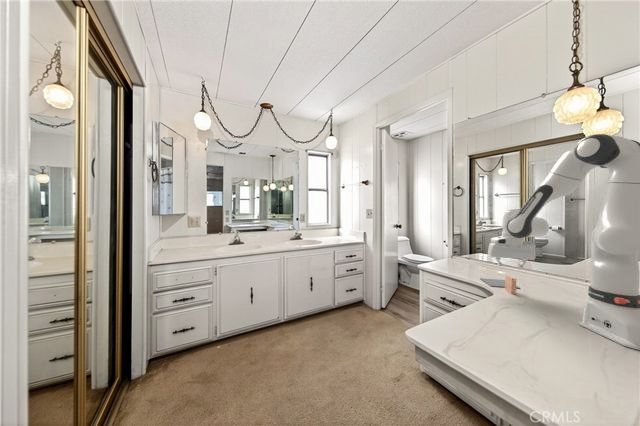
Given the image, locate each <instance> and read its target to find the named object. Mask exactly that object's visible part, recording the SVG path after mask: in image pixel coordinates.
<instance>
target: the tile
mask: <svg viewBox="0 0 640 426" xmlns="http://www.w3.org/2000/svg"><path fill="white" fill-rule="evenodd" d="M504 280H505V288H504V291H506V292H507V293H510V294H511V295H516V294H517V289H516V286H517V278H516V277H514V276H512V275H510V274H509V275H508V274H505V279H504Z"/></svg>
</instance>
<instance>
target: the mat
mask: <svg viewBox="0 0 640 426" xmlns="http://www.w3.org/2000/svg"><path fill="white" fill-rule="evenodd" d="M479 280H481V281H482V282H483V283H485V284H487V285H488V286H490V287H491V288H504V289H505V279H499V278H498V279H497V278H482V277H480V279H479ZM517 289H518V290H520V289H521V287H519V285H516V290H517Z"/></svg>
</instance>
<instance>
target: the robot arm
mask: <svg viewBox="0 0 640 426" xmlns="http://www.w3.org/2000/svg"><path fill="white" fill-rule="evenodd" d="M595 168H600V169H601V168H602V169H608V172H609V174H608V177H607V179H606V180H607V181H606V184H605V188H604V192H603V195H602V199H601V203H600V207H599V208H600V209H599V212H598V218H597V223H596V226H595V228H594V229H592V232H591V237H590V238H591V242H590V243H591V246H590V247H591V248H590V249H591V250H590V251H591V252H590V253H591V254H590V255H591V259H590V261H591V262H590V265H591V267H590V269H591V271H590V286H588V289H587V291H588V292H587V294H588V295H587V296H589V297H588V300H587V302H586V303H585V305H584V310H583V315H582V320H581V321H579V323H578V324H579V326H581V327H583V328H585V329H587V330H589V331H592V332H594V333H595V334H598V335H600V336H602V337H604V338H606V339H609V340H611V341H613V342H615V343H617V344H620V345H622V346H624V347H627V348H630V349H634V350H638V351H640V294H639V291H640V287H639V286H640V268H639V255H638V252H639V251H640V142H639V141H637V140H635V139H628V138H625V137H623V136H619V135H610V134H605V133H601V134H600V133H599V134H591V135H587V136H586V137H584V138H581V140H579V141H578V143H577V144H576V145H575V147H574V149H570V150H567V151H566V152H565V153H563V154H562V155H561V157H560V158H559V159H558V160H557V161H556V162H555V164H554V165H553V167H551V170H550V171H549V173H548V175H547V176H546V177H545V178H544V180H543V181H542V183H540V185H538V187H537V188H536V189H535V190H533V192H532V193H531V195H529V197H528V198H527V199H526V201H525V202H524V204H523V205H522V207H521V208H520V209H517V208H515V209H508V210H506V211H505V212H504V213H503V216H502V225H501V227H502V232H501V235H500V236H494V237H491V238H490V243H489V245H488V247H487V248H488V249H487V255H488V256H489V257H492V258H494V259H495V261H496V262H497V266H498V267H502V266H503V262H501V258H502V259H514V260H520V261H521V262H520V263H517V266H518V267H517V268H521V269H523V268H524V265H526V263H527V261H529V260H530V261H535V259H536V258H537V257H536V247H537V245H536V243H534V242H533V241H526V240H524V238H533V237H534V238H535V237H543V236H545V235H546V234H547V233H548V231H549V228H550V226H549V225H550V224H549V223H548V221H547V220H545V219H544V218H542V217H538V214H539V213H540V212H541V210H542V209H543V208H544V207H545V206H546V205H547V204H549V202H552V201H553V200H556V199H559V198H562V197H566V196H569V195H571V194H573V193H574V192H575V190H577V189H578V187H579V186H580V185H581V184H582V183H583V181H584V179H585V178H586V176H587V175H588V174H589V172H591V171H592V170H593V169H595Z"/></svg>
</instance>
